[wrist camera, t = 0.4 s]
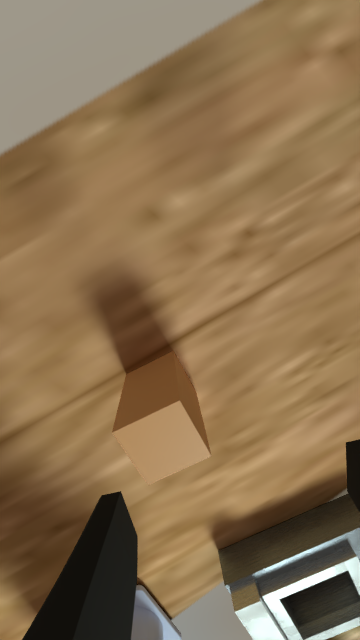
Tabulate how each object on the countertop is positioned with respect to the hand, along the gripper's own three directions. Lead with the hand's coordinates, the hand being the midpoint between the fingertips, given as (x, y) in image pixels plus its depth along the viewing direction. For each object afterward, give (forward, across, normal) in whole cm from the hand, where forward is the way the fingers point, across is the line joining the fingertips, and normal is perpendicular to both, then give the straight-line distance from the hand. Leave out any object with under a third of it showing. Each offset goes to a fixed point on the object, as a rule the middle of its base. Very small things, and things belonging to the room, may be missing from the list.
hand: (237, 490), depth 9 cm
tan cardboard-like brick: (+10, +3, +2) cm, 11 cm away
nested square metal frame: (+10, -5, +21) cm, 24 cm away
